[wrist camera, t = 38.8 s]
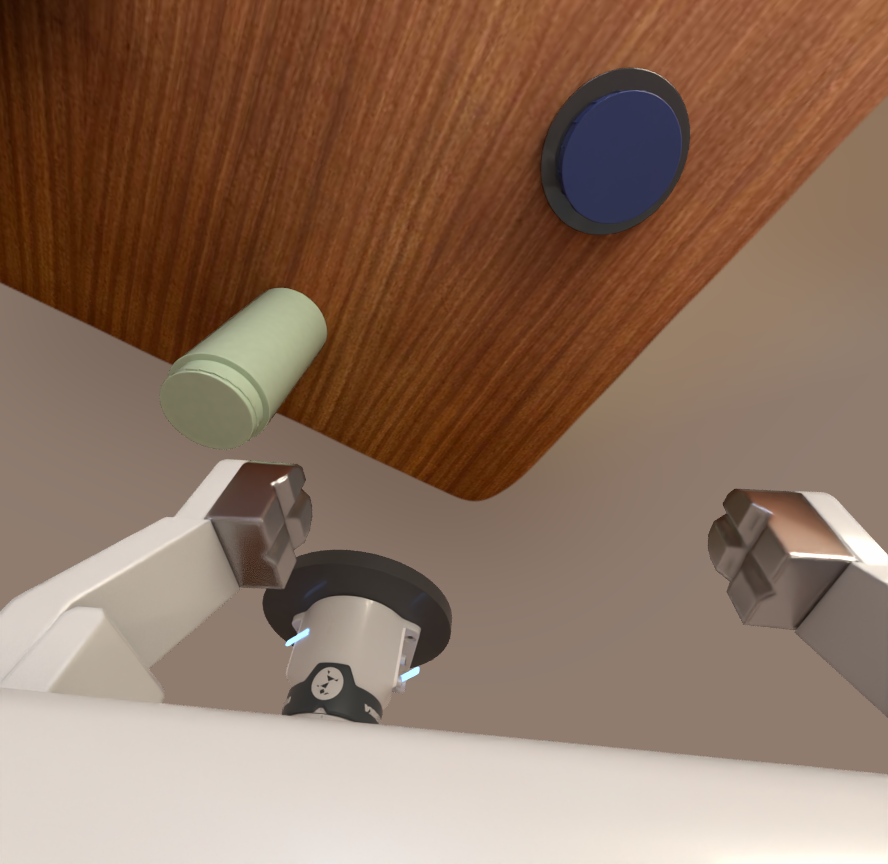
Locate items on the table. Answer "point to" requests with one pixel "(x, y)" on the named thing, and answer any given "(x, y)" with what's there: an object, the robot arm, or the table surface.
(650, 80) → the coaster
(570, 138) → the lid
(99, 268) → the table surface
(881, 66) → the table surface
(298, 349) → the jar
